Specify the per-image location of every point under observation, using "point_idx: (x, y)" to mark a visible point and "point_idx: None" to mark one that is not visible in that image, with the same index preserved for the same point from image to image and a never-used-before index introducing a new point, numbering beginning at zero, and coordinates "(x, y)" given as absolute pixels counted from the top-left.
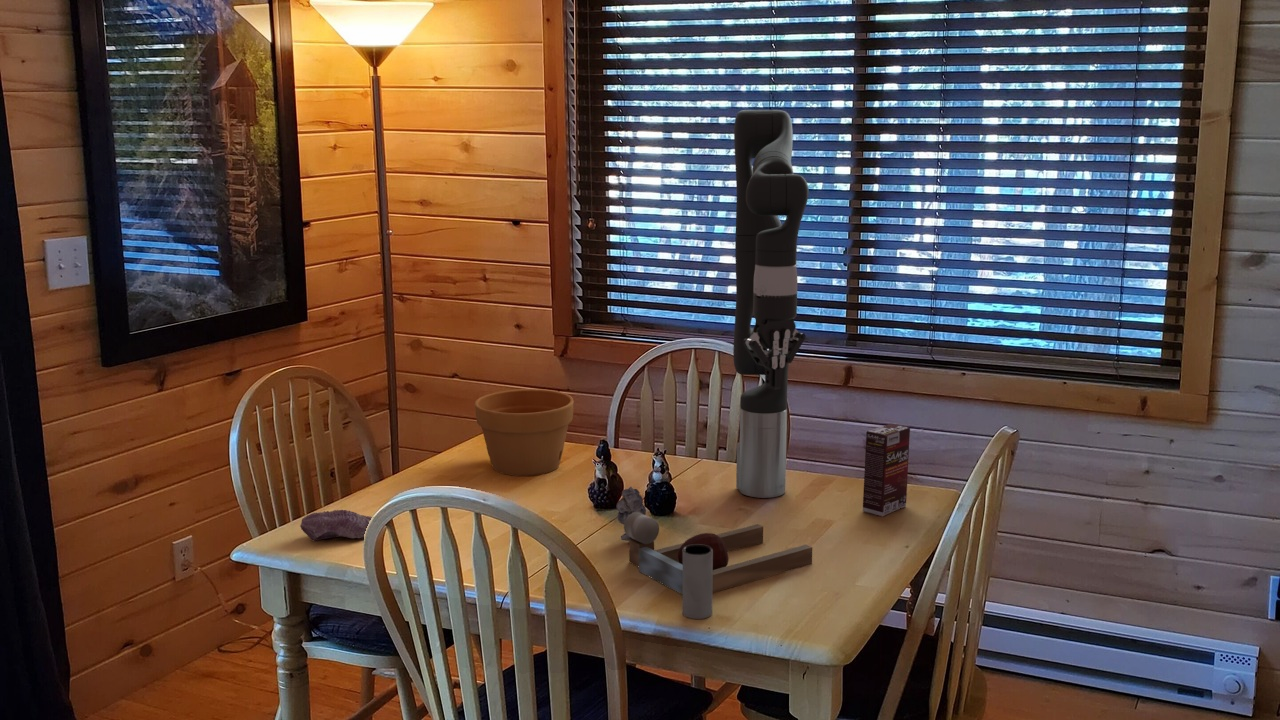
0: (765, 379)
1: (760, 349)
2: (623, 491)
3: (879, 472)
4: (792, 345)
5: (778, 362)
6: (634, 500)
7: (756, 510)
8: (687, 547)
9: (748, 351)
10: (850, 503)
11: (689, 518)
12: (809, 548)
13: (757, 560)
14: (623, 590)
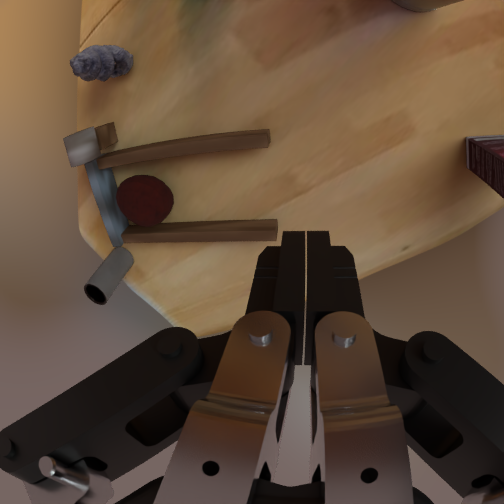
0: (257, 269)
1: (119, 468)
2: (70, 63)
3: (498, 185)
4: (454, 472)
5: (311, 394)
6: (84, 76)
7: (350, 28)
8: (88, 285)
9: (54, 402)
10: (476, 103)
11: (231, 7)
12: (271, 240)
13: (194, 237)
14: (80, 189)
